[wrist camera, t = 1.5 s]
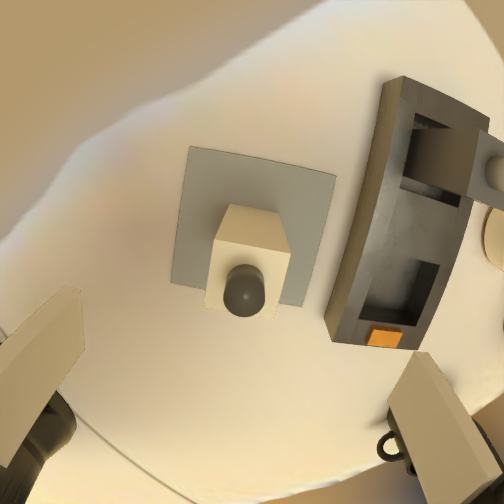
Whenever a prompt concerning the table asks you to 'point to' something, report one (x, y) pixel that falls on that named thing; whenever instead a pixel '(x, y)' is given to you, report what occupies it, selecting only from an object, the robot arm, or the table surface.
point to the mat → (255, 196)
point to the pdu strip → (400, 228)
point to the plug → (248, 263)
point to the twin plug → (458, 163)
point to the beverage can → (495, 238)
